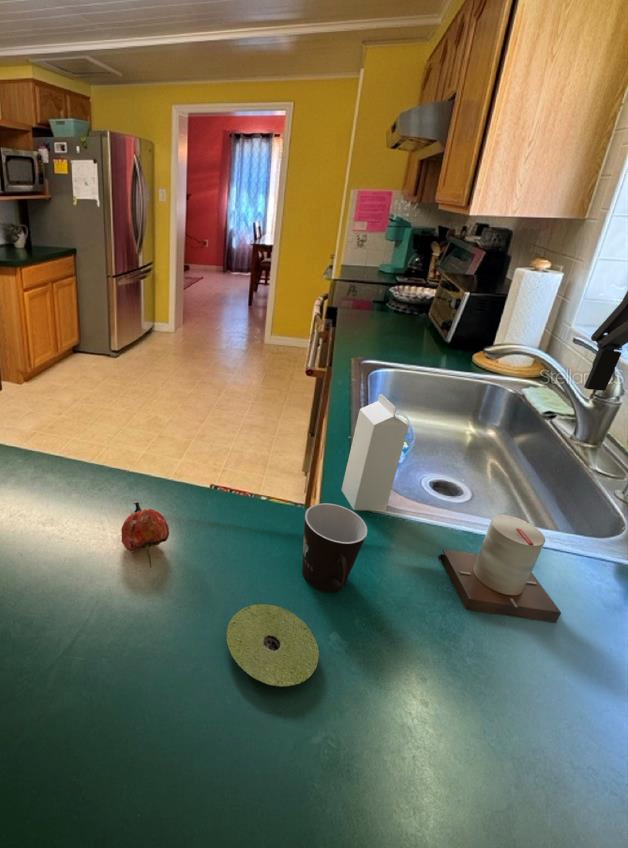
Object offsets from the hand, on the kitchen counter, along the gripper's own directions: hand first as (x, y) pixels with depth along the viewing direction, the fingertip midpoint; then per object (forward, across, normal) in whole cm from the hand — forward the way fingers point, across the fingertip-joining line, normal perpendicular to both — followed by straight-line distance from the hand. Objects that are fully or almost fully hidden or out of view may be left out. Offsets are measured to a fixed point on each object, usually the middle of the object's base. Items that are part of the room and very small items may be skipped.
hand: (625, 407), depth 70 cm
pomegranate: (+27, -15, +69) cm, 76 cm away
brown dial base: (+27, -12, +16) cm, 33 cm away
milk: (+27, +4, +32) cm, 42 cm away
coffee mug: (+27, -16, +42) cm, 52 cm away
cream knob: (+25, -12, +16) cm, 32 cm away
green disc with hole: (+27, -29, +50) cm, 64 cm away
